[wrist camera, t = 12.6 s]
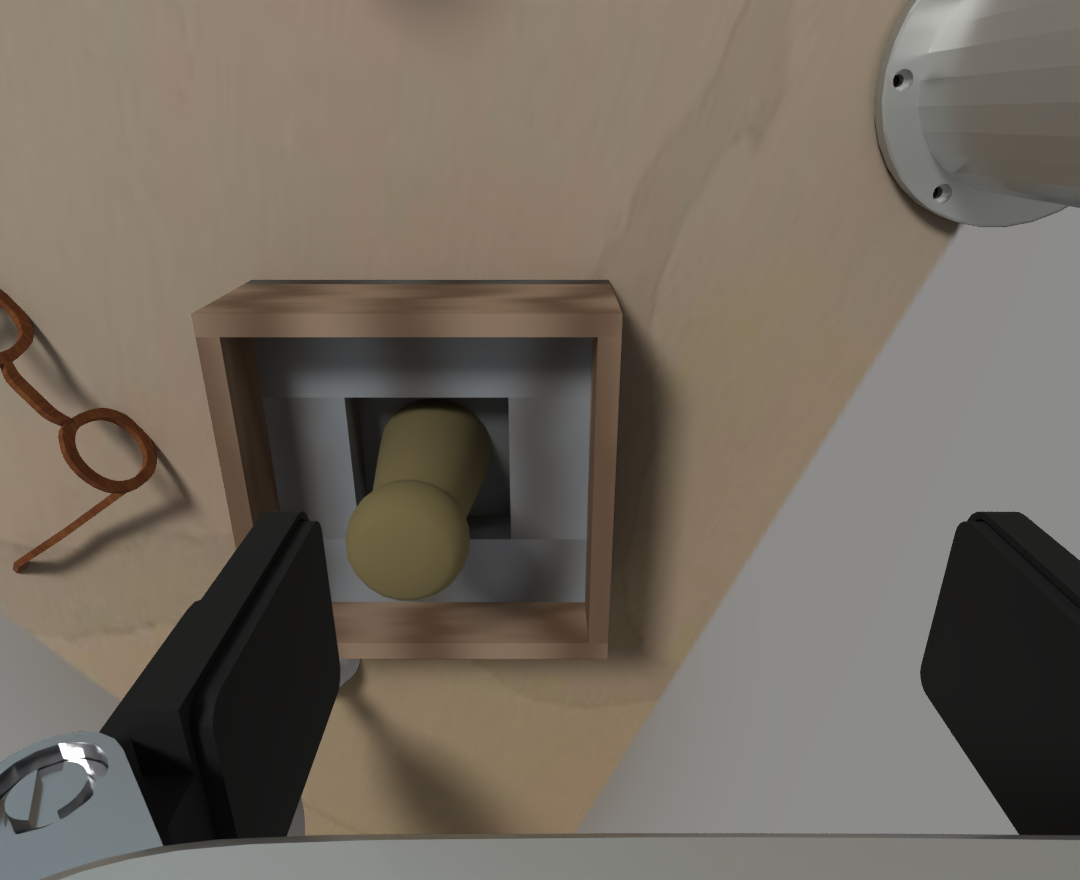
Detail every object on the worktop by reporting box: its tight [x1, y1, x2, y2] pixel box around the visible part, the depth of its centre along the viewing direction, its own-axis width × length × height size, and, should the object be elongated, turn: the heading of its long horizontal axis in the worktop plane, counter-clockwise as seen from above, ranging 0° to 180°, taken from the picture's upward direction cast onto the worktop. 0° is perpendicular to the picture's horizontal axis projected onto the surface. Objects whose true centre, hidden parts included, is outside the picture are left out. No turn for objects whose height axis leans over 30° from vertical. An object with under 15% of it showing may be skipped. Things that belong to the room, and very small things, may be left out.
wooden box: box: [191, 280, 623, 659], centre depth 38 cm, size 18×18×7 cm
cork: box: [346, 399, 492, 601], centre depth 35 cm, size 6×6×11 cm
